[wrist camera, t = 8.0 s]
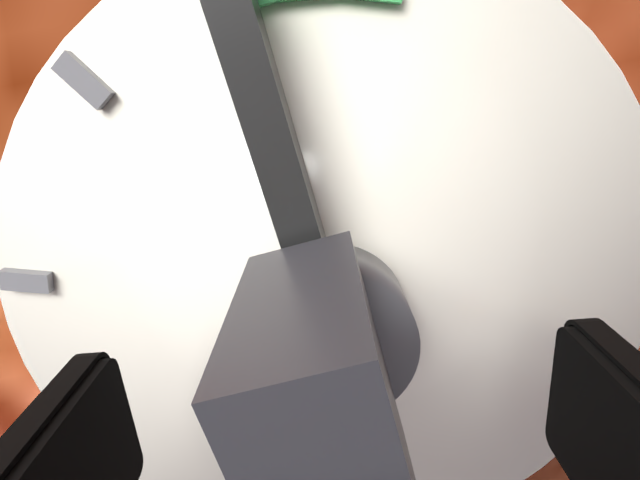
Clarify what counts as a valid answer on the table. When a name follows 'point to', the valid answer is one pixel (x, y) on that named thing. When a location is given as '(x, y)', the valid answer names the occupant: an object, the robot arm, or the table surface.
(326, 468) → the tuning knob
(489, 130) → the tuner dial
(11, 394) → the table surface
